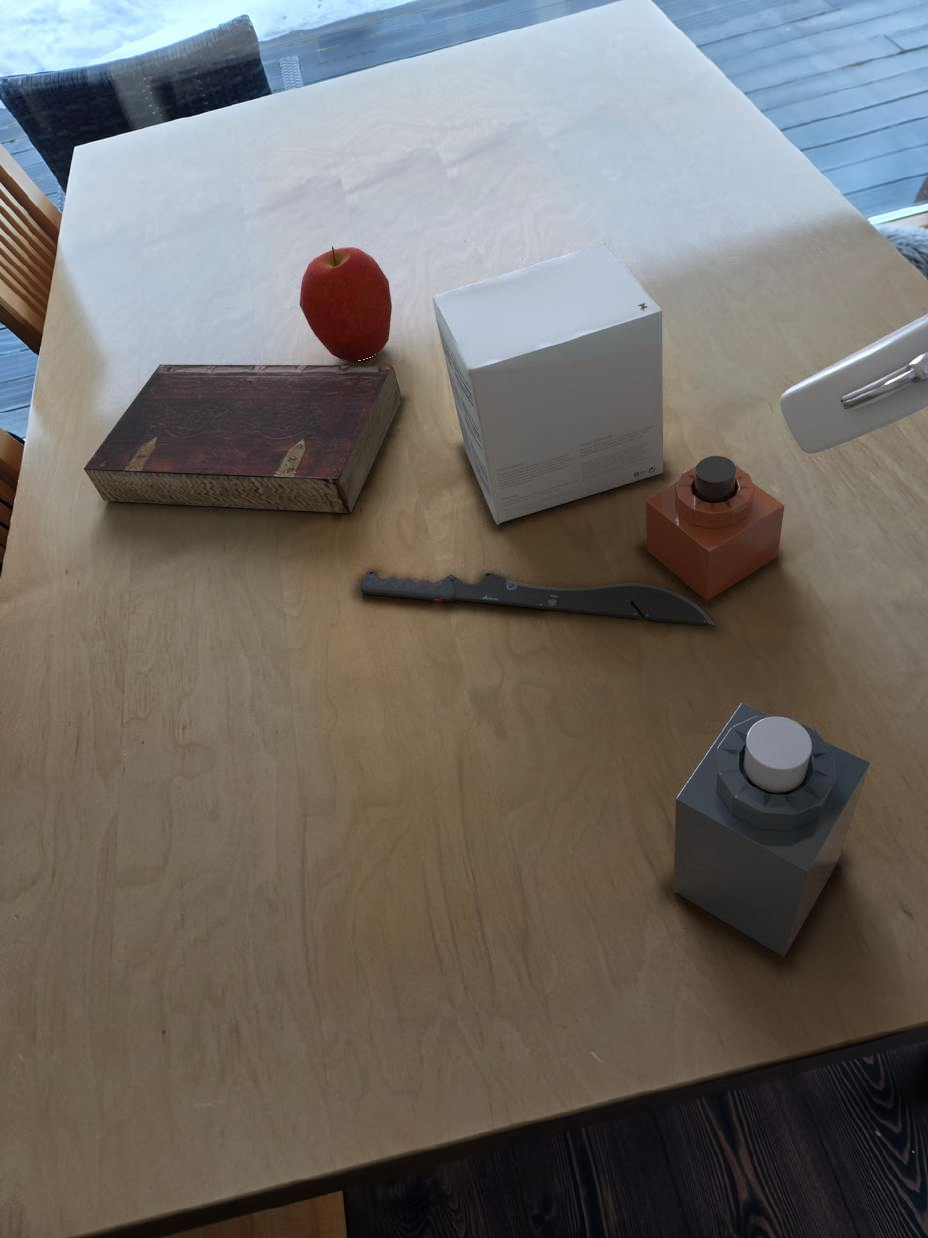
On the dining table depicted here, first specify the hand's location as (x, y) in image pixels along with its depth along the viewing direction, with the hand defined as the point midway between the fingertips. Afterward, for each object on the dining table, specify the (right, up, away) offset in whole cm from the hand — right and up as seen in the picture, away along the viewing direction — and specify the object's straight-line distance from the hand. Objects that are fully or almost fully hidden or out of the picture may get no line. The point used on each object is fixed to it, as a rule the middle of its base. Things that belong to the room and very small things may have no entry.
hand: (864, 379), depth 56 cm
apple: (-36, +17, +56) cm, 69 cm away
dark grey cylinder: (-3, -4, +21) cm, 21 cm away
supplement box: (-14, +1, +38) cm, 40 cm away
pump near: (-7, -23, -4) cm, 24 cm away
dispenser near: (-4, -32, +8) cm, 33 cm away
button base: (-2, -9, +27) cm, 28 cm away
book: (-47, +4, +47) cm, 67 cm away
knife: (-18, -12, +27) cm, 35 cm away
